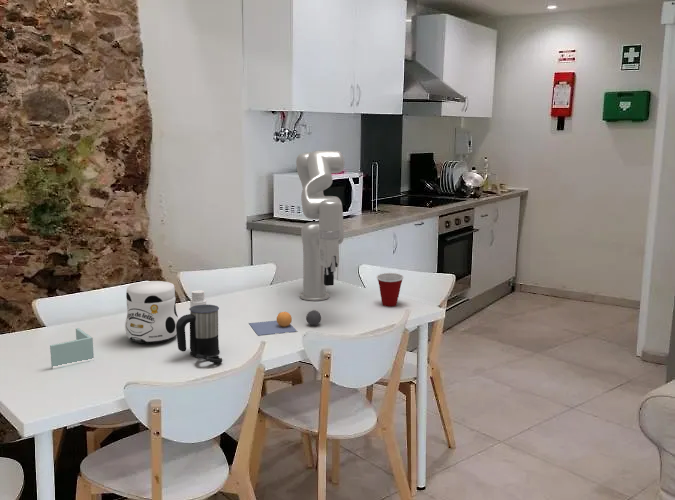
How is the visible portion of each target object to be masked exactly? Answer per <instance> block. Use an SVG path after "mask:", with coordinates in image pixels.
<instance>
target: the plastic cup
mask: <svg viewBox="0 0 675 500" xmlns="http://www.w3.org/2000/svg"><path fill="white" fill-rule="evenodd" d="M404 278H405V277H404V275H403V274H400V273H396V272H384V273H380V274H378V275H376V279H377V282H378V285H379V286H378V287H379V293H380V298H381V300H380V301H381V304H382V306H384V307H388V308H389V307H396V306H397V304H398V299H399V295H400V292H401V285H402V282H403V279H404Z"/></svg>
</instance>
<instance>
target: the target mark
mask: <svg viewBox="0 0 675 500" xmlns="http://www.w3.org/2000/svg"><path fill="white" fill-rule="evenodd" d="M248 325H250V327H251V328H252V330H253V332H255V333H256V335H257V336H259V337H260V336H267V335H276V334H275V333H279V334H286V333H285V332H289V333H296V332H295V331H297V332H298V330H297V329H296V328H295V327H294V326H293V325H292V323H290V325H288V326H286V327H282V326H280V325H279V324H278V323H277V320H269V321H258V322H250V323H249V322H248Z"/></svg>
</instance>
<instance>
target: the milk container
mask: <svg viewBox="0 0 675 500" xmlns="http://www.w3.org/2000/svg"><path fill="white" fill-rule="evenodd" d="M126 287H127V288H126V294H125V295H126V297H125V298H126V310H127V312H126V313H127V314H126V318H125V322H124V328H125V329H124V330H125V335H126V337H127V338H128V339H129V340H130V341H132V342H134V343H139V344H159V343H163V342H167V341H169V340H171V339H173V338H174V337H177V332H176V324H177V321H178V320H179V319H180V318H179V317H178V316H179V315H178V313H177V309H176V307H177V306H176V289H175V288H176V287H175V284H174V283H172V282H169V281H161V280H151V281H149V280H147V281H139V282H136V283H135V282H134V283H132V284H129V285H128V286H126Z"/></svg>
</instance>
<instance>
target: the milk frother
mask: <svg viewBox="0 0 675 500" xmlns="http://www.w3.org/2000/svg"><path fill="white" fill-rule="evenodd" d="M219 309H220V307H219V306H217V305H214V304H206V305H196V306H193V307H191V308H190V307H189V309H188V310H189V311H191V314H189V313H188V314H185V315H182V316H181V317H180V318H178V319H179V320H178V321H177V324H176V332H177V335H176V339H177V340H176V342H177V349H178V350H179V351H180V352H183V353H184V352H187V341H186V340H187V338H186V326H187V325H188V324H189V350H190V352H189V354H190V356H192V357H195V358H198V359H201V360H205V361H208V362H209V363H212V364H214V365H218V363H222V362H223V357H220V356H219V354H220V353H221V351H220V345H219Z"/></svg>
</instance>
